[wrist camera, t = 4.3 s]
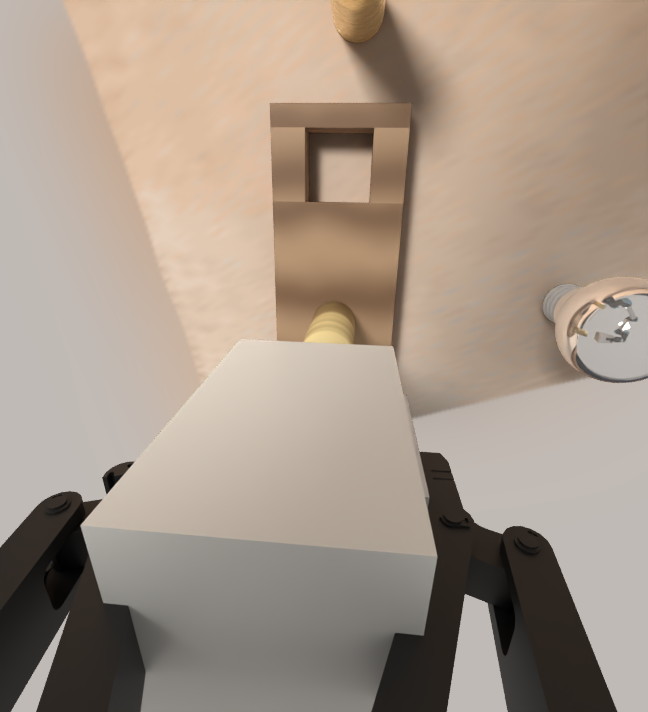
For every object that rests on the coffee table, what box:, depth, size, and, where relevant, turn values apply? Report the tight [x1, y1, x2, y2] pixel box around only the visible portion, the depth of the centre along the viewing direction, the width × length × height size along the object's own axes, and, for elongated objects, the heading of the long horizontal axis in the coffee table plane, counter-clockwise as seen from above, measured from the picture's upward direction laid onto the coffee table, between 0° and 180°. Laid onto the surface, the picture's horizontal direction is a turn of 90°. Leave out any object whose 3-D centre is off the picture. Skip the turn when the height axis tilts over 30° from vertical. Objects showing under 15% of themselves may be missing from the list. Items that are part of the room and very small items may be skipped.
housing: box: [80, 339, 437, 712], centre depth 14 cm, size 7×7×11 cm
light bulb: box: [543, 276, 648, 383], centre depth 28 cm, size 7×7×12 cm
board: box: [270, 103, 412, 346], centre depth 28 cm, size 20×10×12 cm, turn 179°
